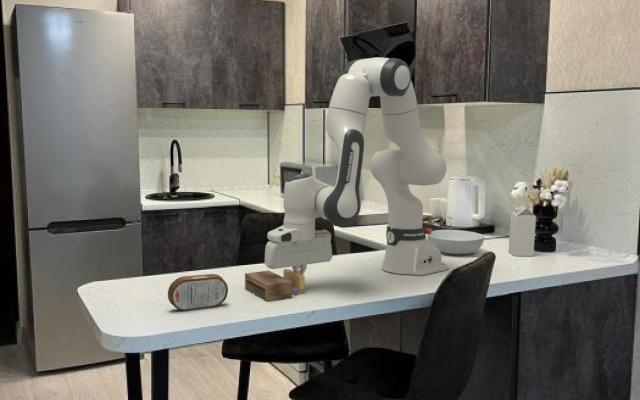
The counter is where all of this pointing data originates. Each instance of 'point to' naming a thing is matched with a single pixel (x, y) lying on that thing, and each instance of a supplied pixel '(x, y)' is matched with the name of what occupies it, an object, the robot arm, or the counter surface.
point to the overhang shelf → (268, 285)
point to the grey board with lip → (295, 281)
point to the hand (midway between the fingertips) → (299, 280)
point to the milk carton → (522, 232)
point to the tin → (197, 292)
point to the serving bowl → (456, 241)
